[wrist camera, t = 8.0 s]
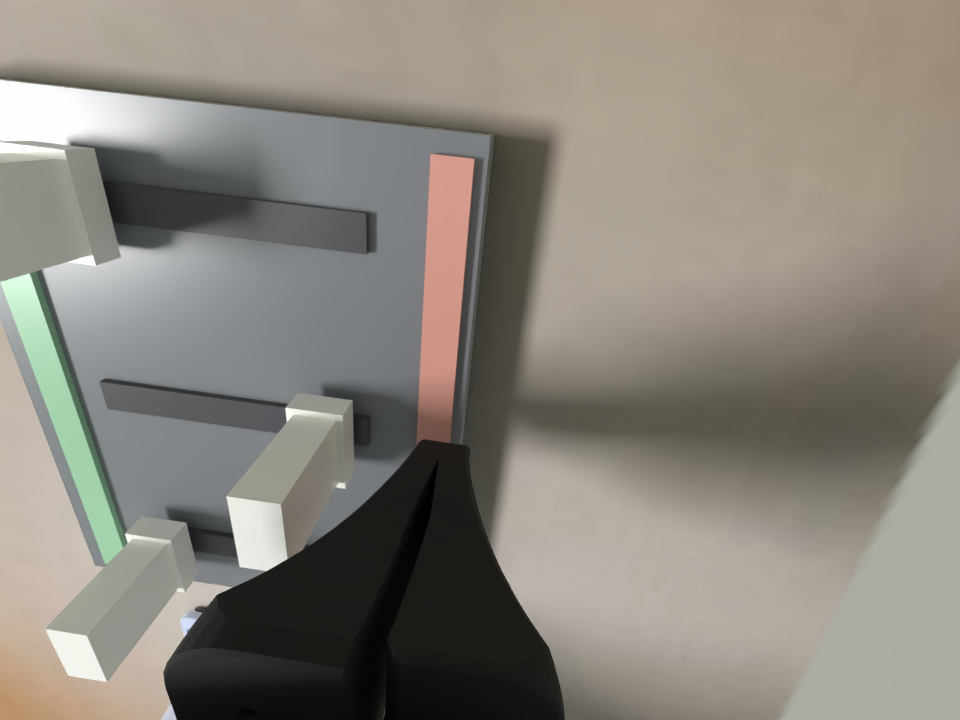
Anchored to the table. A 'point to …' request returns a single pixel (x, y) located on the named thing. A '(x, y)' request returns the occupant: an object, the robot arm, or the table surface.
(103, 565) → the breaker panel
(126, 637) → the breaker
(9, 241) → the block
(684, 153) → the table surface
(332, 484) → the breaker
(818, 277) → the table surface
